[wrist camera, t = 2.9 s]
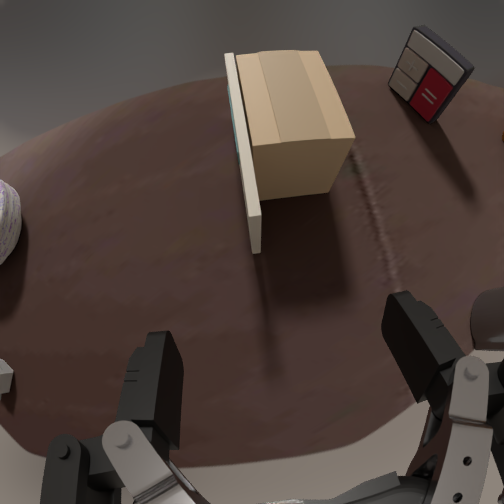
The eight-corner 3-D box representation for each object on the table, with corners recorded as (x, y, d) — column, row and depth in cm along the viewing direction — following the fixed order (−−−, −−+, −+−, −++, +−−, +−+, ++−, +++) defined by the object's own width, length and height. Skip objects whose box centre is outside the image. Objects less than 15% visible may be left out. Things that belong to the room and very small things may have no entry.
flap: (260, 252, 36) (261, 215, 24) (251, 254, 36) (247, 217, 24) (239, 117, 41) (232, 52, 28) (231, 118, 41) (223, 54, 28)
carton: (328, 192, 38) (356, 137, 26) (254, 201, 38) (252, 145, 26) (305, 113, 42) (317, 49, 29) (241, 119, 42) (235, 54, 29)
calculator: (384, 85, 44) (411, 26, 29) (397, 79, 44) (423, 23, 30) (427, 126, 41) (466, 72, 27) (438, 118, 42) (475, 67, 27)
